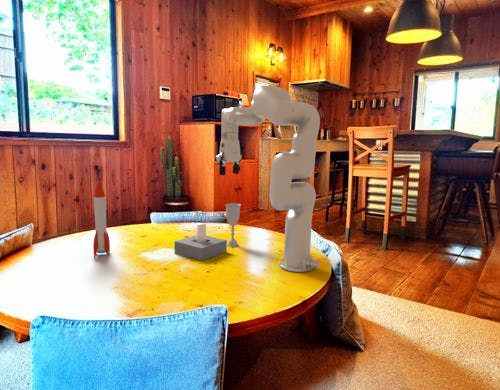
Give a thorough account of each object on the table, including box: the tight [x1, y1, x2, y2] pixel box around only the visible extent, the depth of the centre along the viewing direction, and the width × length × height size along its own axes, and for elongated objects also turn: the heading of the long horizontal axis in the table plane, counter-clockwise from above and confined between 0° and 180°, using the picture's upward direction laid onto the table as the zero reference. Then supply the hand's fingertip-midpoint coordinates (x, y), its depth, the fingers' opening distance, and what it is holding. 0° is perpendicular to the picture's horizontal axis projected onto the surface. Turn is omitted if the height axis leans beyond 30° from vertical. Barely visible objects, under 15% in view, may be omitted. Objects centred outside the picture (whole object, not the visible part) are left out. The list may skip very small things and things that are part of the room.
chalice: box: [224, 203, 242, 248], centre depth 163 cm, size 7×7×18 cm
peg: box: [195, 222, 207, 244], centre depth 152 cm, size 4×4×12 cm
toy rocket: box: [92, 179, 111, 258], centre depth 145 cm, size 6×6×30 cm
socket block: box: [174, 234, 228, 262], centre depth 152 cm, size 15×15×5 cm
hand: (229, 174), depth 170 cm, fingers open, 9 cm apart
